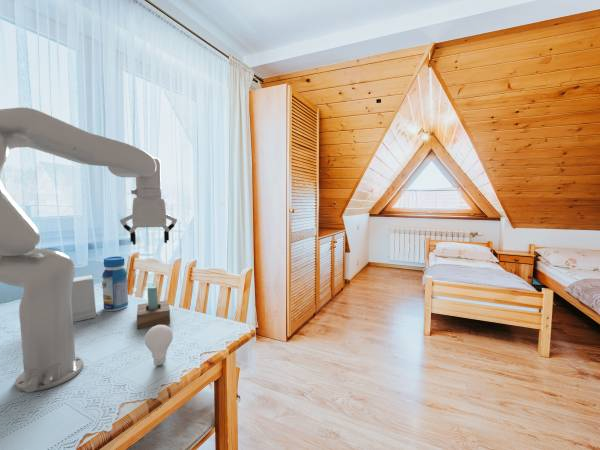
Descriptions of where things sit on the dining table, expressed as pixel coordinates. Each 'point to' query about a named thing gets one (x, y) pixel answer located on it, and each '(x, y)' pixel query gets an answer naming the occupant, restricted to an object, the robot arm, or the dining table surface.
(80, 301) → the skincare box
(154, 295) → the peg
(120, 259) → the beverage bottle
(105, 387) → the dining table surface
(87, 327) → the dining table surface
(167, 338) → the light bulb
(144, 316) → the socket block
